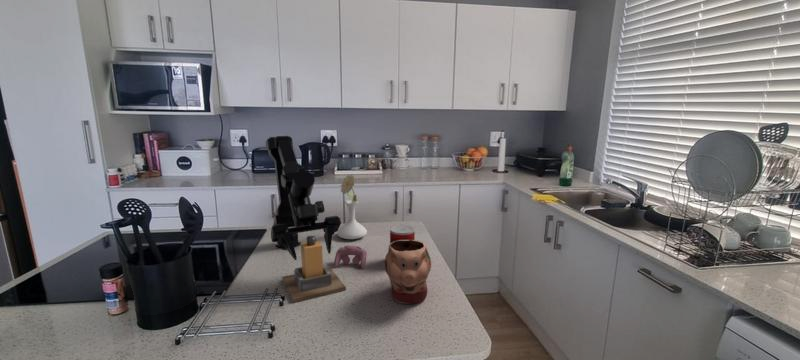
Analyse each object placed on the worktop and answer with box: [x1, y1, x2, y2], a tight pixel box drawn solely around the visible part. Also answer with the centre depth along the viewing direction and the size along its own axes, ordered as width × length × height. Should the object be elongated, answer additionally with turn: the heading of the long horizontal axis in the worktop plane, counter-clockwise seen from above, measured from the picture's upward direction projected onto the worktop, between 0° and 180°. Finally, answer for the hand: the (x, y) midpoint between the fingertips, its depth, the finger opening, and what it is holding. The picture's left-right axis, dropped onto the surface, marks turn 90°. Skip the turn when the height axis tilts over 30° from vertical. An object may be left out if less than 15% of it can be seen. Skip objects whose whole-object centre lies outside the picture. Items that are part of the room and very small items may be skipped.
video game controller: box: [333, 245, 367, 269], centre depth 113 cm, size 10×5×7 cm, turn 85°
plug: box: [300, 235, 324, 279], centre depth 99 cm, size 5×5×13 cm
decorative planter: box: [384, 239, 432, 304], centre depth 95 cm, size 20×12×14 cm, turn 8°
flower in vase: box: [336, 173, 368, 240], centre depth 135 cm, size 13×11×25 cm
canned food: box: [389, 224, 416, 245], centre depth 115 cm, size 8×8×11 cm
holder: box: [281, 263, 347, 304], centre depth 100 cm, size 14×14×4 cm
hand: (313, 256), depth 97 cm, fingers open, 9 cm apart
